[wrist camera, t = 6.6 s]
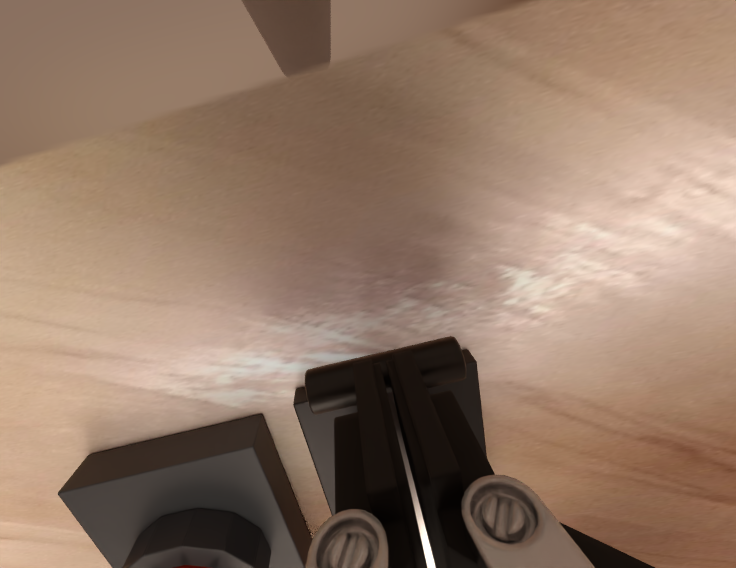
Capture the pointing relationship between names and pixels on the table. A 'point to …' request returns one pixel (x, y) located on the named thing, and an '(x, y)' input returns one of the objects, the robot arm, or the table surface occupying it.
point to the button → (189, 567)
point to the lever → (337, 391)
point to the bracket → (322, 425)
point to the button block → (192, 501)
